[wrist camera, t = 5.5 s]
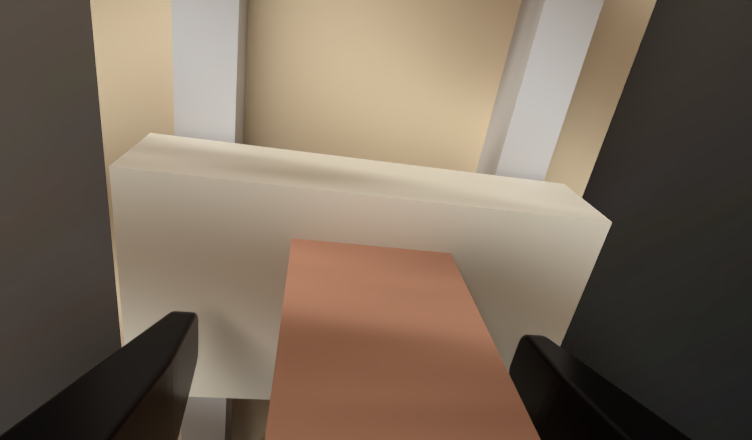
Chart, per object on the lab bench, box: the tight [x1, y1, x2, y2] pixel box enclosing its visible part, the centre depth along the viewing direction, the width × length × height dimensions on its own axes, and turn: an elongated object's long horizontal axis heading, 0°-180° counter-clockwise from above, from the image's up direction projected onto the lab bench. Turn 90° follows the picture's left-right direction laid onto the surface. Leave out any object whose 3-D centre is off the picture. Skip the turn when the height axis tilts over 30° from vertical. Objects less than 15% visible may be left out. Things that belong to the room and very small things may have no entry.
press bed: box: [90, 0, 657, 440], centre depth 11 cm, size 22×12×6 cm, turn 171°
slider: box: [109, 133, 612, 440], centre depth 8 cm, size 5×9×7 cm, turn 81°
